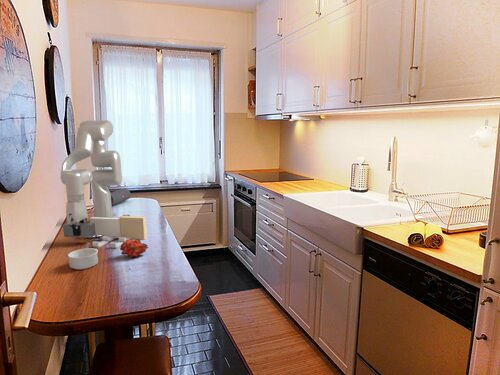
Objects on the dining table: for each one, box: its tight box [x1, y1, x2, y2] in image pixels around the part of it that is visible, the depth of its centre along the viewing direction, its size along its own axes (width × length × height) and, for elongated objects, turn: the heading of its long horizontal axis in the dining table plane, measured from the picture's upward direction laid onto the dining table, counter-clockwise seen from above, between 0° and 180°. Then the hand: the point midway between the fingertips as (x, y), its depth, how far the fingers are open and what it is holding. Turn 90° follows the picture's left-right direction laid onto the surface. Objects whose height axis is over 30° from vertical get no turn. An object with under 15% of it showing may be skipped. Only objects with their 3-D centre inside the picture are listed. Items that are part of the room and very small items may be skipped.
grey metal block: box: [62, 222, 96, 238], centre depth 182 cm, size 4×14×6 cm, turn 84°
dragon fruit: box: [119, 239, 149, 259], centre depth 162 cm, size 8×8×12 cm
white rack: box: [89, 215, 148, 249], centre depth 182 cm, size 18×30×11 cm, turn 78°
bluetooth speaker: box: [110, 188, 132, 207], centre depth 272 cm, size 23×9×10 cm, turn 167°
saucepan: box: [67, 241, 99, 270], centre depth 156 cm, size 12×20×6 cm, turn 15°
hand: (79, 233), depth 182 cm, fingers closed on grey metal block, 4 cm apart
